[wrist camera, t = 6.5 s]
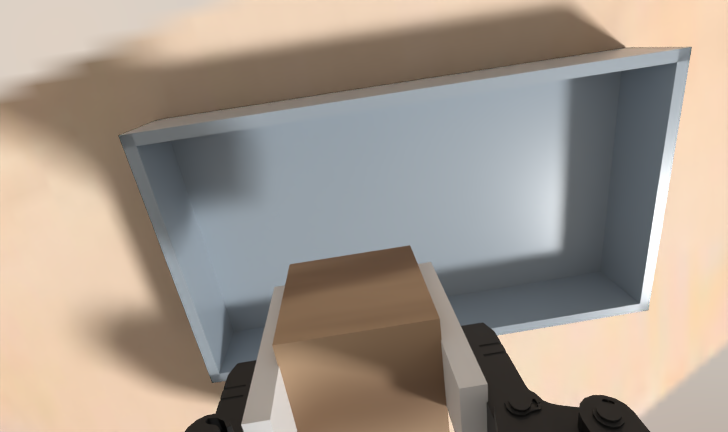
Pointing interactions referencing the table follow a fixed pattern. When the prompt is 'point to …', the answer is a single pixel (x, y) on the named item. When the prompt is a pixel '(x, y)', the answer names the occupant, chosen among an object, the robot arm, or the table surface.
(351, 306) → the walnut cube
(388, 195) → the tote
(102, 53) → the table surface
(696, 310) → the table surface
